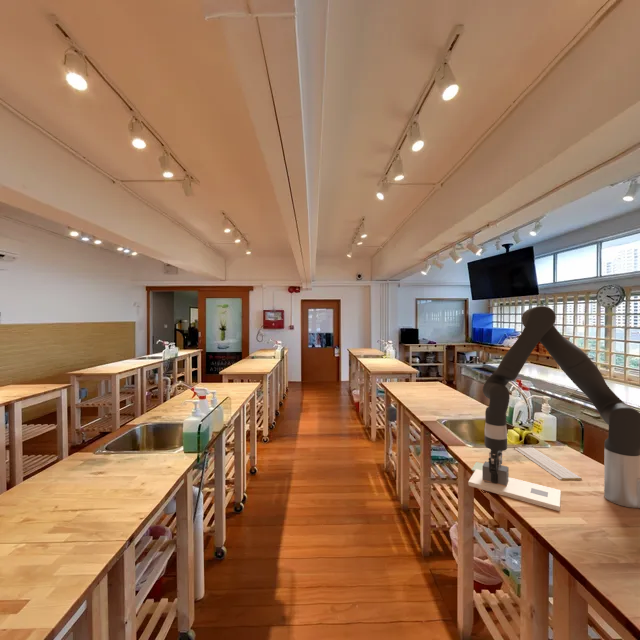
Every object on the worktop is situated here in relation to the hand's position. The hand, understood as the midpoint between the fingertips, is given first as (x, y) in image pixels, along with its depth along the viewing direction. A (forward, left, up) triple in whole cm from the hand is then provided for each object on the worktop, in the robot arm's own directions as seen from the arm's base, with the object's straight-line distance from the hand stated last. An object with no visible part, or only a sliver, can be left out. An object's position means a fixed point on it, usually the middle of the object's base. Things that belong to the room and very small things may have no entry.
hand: (495, 479), depth 126 cm
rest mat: (+4, -12, -2) cm, 13 cm away
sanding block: (0, 0, 0) cm, 0 cm away
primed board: (-6, 0, -2) cm, 6 cm away
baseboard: (-13, -33, -3) cm, 36 cm away
